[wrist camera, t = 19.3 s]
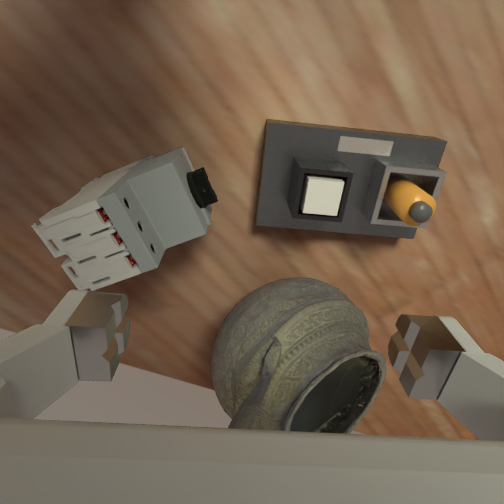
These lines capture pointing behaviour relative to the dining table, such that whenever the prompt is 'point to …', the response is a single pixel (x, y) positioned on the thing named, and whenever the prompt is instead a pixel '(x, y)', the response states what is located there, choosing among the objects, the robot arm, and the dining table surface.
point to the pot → (296, 360)
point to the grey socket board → (343, 175)
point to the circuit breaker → (129, 219)
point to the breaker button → (321, 194)
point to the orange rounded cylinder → (409, 201)
